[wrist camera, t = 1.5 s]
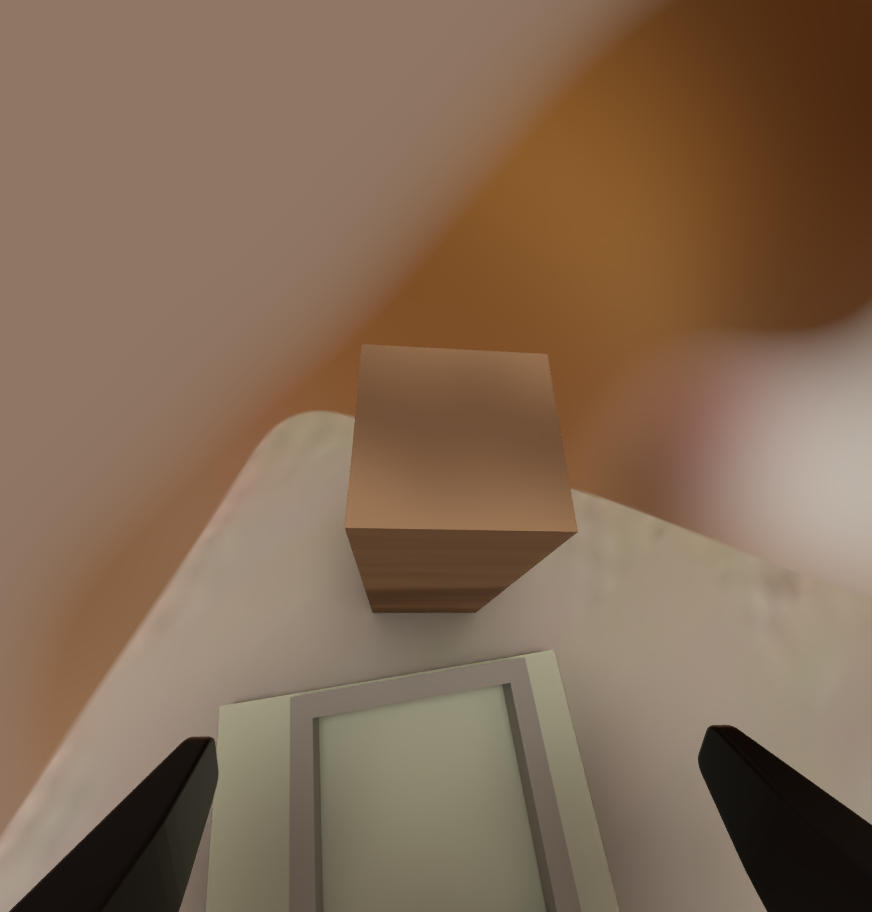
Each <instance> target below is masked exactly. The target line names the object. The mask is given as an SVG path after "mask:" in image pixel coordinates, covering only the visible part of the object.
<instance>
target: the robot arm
mask: <svg viewBox="0 0 872 912" xmlns="http://www.w3.org/2000/svg"><path fill="white" fill-rule="evenodd" d="M698 763H699V768H700V771H701V773H702V776H703V778H704V780H705V782H706V785H707V787H708V789H709V791H710V793H711V796H712V798H713V800H714V802H715V804H716V807H717V809H718V811H719V813H720V816H721V818H722V820H723V822H724V824H725V827H726V829H727V831H728V833H729V835H730V838H731V840H732V842H733V844H734V847H735V849H736V851H737V853H738V855H739V857H740V860H741V862H742V864H743V866H744V868H745V870H746V872H747V874H748V876H749V878H750V880H751V882H752V884H753V886H754V888H755V890H756V892H757V893H758V895H759V897H760V899H761V901H762V903H763V904H764V906H765V908H766V910H767V912H872V825H871V824H870V823H868V822H867V821H866V820H864V819H863V818H861V817H860V816H859V815H857V814H856V813H854V812H853V811H852V810H850V809H849V808H847V807H846V806H845V805H843V804H842V803H840V802H839V801H838V800H836V799H835V798H833V797H832V796H831V795H829V794H828V793H826V792H825V791H824V790H822V789H821V788H819V787H818V786H817V785H815V784H814V783H812V782H811V781H810V780H808V779H807V778H806V777H804V776H803V775H801V774H800V773H799V772H797V771H796V770H794V769H793V768H792V767H790V766H789V765H787V764H786V763H785V762H783V761H782V760H780V759H779V758H778V757H776V756H775V755H773V754H772V753H771V752H769V751H768V750H766V749H765V748H764V747H762V746H761V745H759V744H758V743H757V742H755V741H754V740H752V739H751V738H750V737H748V736H747V735H745V734H744V733H743V732H741V731H740V730H738V729H737V728H735V727H733V726H730V725H712V726H710V727H708V729H707V731H706V734H705V737H704V740H703V743H702V746H701V749H700V752H699V755H698ZM218 776H219V769H218V761H217V754H216V747H215V741H214V739H213V738H212V737H190V738H188V739H186V740H184V741H183V742H182V743H181V744H180V745H179V746H178V747H177V748H176V749H175V750H174V751H173V752H172V753H171V754H170V755H169V756H168V757H167V758H166V759H165V760H164V761H163V762H162V763H161V764H160V765H158V766H157V767H156V768H155V769H154V770H153V771H152V772H151V773H150V774H149V775H148V776H147V777H146V778H145V779H144V780H143V781H142V782H141V783H140V784H139V785H138V786H137V787H136V788H135V789H134V790H133V791H132V792H131V793H130V794H129V795H128V796H127V797H126V798H125V799H124V800H123V801H122V802H121V803H120V804H119V805H118V806H117V807H116V808H115V809H114V810H112V811H111V812H110V813H109V814H108V815H107V816H106V817H105V818H104V819H103V820H102V821H101V822H100V823H99V824H98V825H97V826H96V827H95V828H94V829H93V830H92V831H91V832H90V833H89V834H88V835H87V836H86V837H85V838H84V839H83V840H82V841H81V842H80V843H79V844H78V845H77V846H76V847H75V848H74V849H73V850H72V851H71V852H70V853H69V854H68V855H66V856H65V857H64V858H63V859H62V860H61V861H60V862H59V863H58V864H57V865H56V866H55V867H54V868H53V869H52V870H51V871H50V872H49V873H48V874H47V875H46V876H45V877H44V878H43V879H42V880H41V881H40V882H39V883H38V884H37V885H36V886H35V887H34V888H33V889H32V890H31V891H30V892H29V893H28V894H27V895H26V896H25V897H24V898H23V899H22V900H20V901H19V902H18V903H17V904H16V905H15V906H14V907H13V908H12V909H11V910H10V911H9V912H178V911H179V909H180V906H181V903H182V900H183V897H184V894H185V890H186V887H187V884H188V881H189V877H190V874H191V871H192V867H193V864H194V861H195V857H196V854H197V851H198V847H199V844H200V840H201V837H202V834H203V830H204V827H205V824H206V820H207V817H208V814H209V810H210V807H211V804H212V800H213V797H214V794H215V790H216V787H217V782H218Z"/></svg>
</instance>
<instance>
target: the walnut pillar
mask: <svg viewBox="0 0 872 912" xmlns="http://www.w3.org/2000/svg"><path fill="white" fill-rule="evenodd" d="M345 529H346V532H347V535H348V539H349V542H350V545H351V548H352V551H353V554H354V557H355V560H356V563H357V566H358V569H359V572H360V575H361V578H362V581H363V584H364V587H365V591H366V594H367V597H368V600H369V603H370V606H371V609H372V612H373V613H476V612H477V611H478V610H480V609H481V608H482V607H483V606H485V605H486V604H487V603H488V602H490V601H491V600H492V599H493V598H495V597H496V596H497V595H498V594H500V593H501V592H502V591H504V590H505V589H506V588H507V587H509V586H510V585H511V584H512V583H514V582H515V581H516V580H517V579H519V578H520V577H521V576H522V575H524V574H525V573H526V572H528V571H529V570H530V569H531V568H533V567H534V566H535V565H536V564H538V563H539V562H540V561H541V560H543V559H544V558H545V557H547V556H548V555H549V554H550V553H552V552H553V551H554V550H555V549H557V548H558V547H559V546H560V545H562V544H563V543H564V542H565V541H567V540H568V539H569V538H571V537H572V536H573V535H574V534H576V533H577V532H578V530H577V524H576V519H575V513H574V507H573V501H572V495H571V490H570V484H569V478H568V472H567V467H566V461H565V455H564V449H563V443H562V437H561V432H560V426H559V420H558V414H557V408H556V403H555V397H554V391H553V385H552V379H551V373H550V367H549V362H548V356H547V354H535V353H515V352H496V351H478V350H459V349H441V348H421V347H403V346H384V345H364V344H363V345H362V351H361V360H360V371H359V382H358V393H357V404H356V415H355V425H354V436H353V447H352V458H351V468H350V479H349V490H348V501H347V512H346V522H345Z"/></svg>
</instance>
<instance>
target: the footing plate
mask: <svg viewBox="0 0 872 912" xmlns="http://www.w3.org/2000/svg"><path fill="white" fill-rule="evenodd" d="M216 754H217V761H218V769H219V776H218V782H217V787H216V790H215V794H214V797H213V811H212V825H211V839H210V853H209V868H208V882H207V896H206V911H205V912H620V911H619V907H618V903H617V899H616V895H615V891H614V887H613V883H612V879H611V875H610V871H609V867H608V863H607V859H606V855H605V851H604V847H603V843H602V840H601V836H600V832H599V828H598V824H597V820H596V816H595V812H594V808H593V804H592V800H591V796H590V792H589V788H588V784H587V780H586V776H585V772H584V768H583V764H582V760H581V756H580V752H579V748H578V744H577V740H576V736H575V732H574V729H573V725H572V721H571V717H570V713H569V709H568V705H567V701H566V697H565V693H564V689H563V685H562V681H561V677H560V673H559V669H558V665H557V661H556V657H555V653H554V650H549V651H543V652H537V653H531V654H525V655H519V656H513V657H508V658H502V659H496V660H490V661H484V662H478V663H472V664H466V665H460V666H454V667H448V668H443V669H437V670H431V671H425V672H419V673H413V674H407V675H401V676H395V677H389V678H383V679H378V680H372V681H366V682H360V683H354V684H348V685H342V686H336V687H330V688H324V689H319V690H313V691H307V692H301V693H295V694H289V695H283V696H277V697H271V698H265V699H259V700H254V701H248V702H242V703H236V704H230V705H224V706H220V710H219V725H218V739H217V753H216Z"/></svg>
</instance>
